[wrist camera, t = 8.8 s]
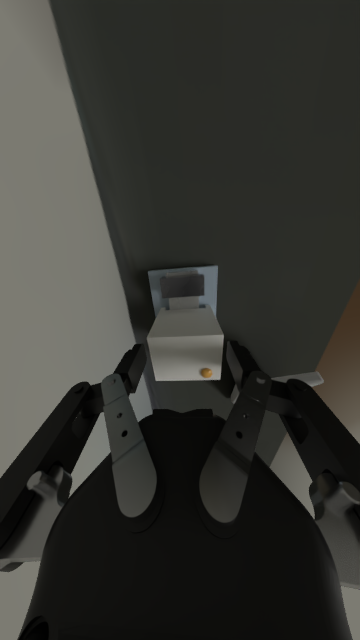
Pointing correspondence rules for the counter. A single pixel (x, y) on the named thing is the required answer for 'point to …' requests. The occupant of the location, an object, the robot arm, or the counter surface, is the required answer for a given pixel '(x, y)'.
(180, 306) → the din rail
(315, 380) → the light switch
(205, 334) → the block
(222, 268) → the counter surface
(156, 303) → the plate
